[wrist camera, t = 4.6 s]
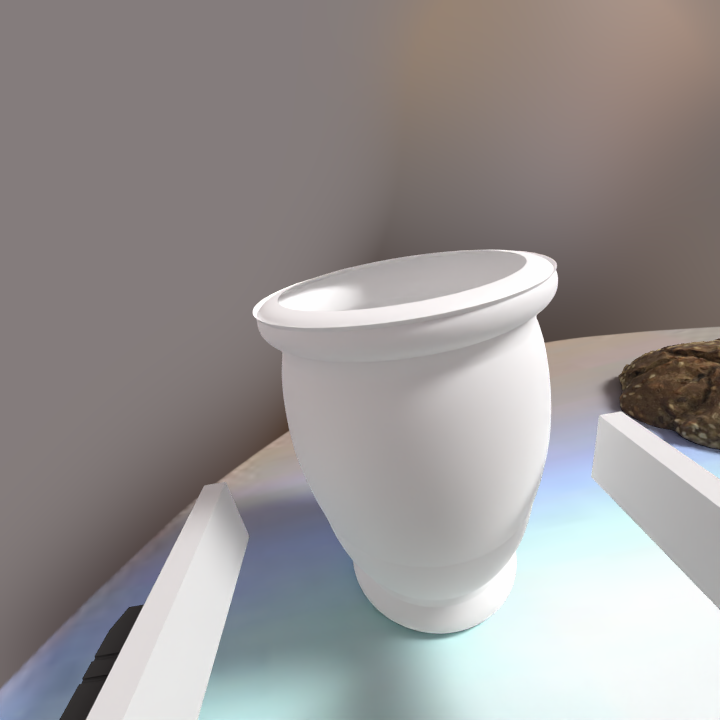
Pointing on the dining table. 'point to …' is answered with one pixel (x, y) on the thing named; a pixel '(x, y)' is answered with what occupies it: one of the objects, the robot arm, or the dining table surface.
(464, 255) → the jar
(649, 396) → the bread roll
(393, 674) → the dining table surface
